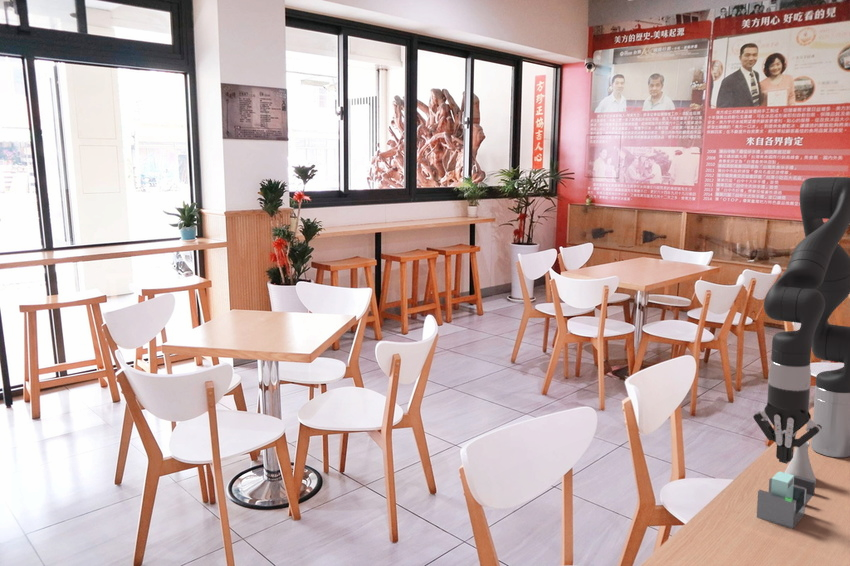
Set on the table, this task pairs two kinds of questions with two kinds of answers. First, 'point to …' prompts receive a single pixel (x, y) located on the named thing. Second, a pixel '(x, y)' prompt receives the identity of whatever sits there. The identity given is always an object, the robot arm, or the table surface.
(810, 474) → the flask
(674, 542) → the table surface
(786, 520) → the port
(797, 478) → the grey ridged tray
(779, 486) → the plug
